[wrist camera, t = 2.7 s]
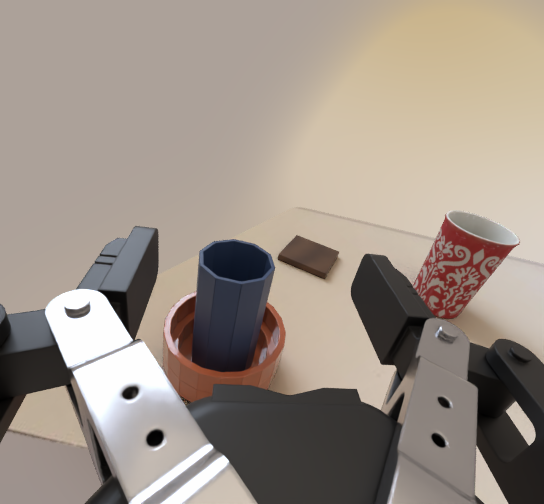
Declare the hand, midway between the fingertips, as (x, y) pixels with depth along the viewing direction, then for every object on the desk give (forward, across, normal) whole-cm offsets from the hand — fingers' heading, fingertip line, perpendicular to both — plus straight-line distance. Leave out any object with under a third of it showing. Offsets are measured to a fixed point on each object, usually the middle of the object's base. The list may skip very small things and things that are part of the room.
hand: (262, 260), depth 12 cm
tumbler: (+11, 0, +20) cm, 23 cm away
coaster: (+32, -13, +20) cm, 40 cm away
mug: (+26, -32, +20) cm, 46 cm away
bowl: (+11, 0, +20) cm, 23 cm away
